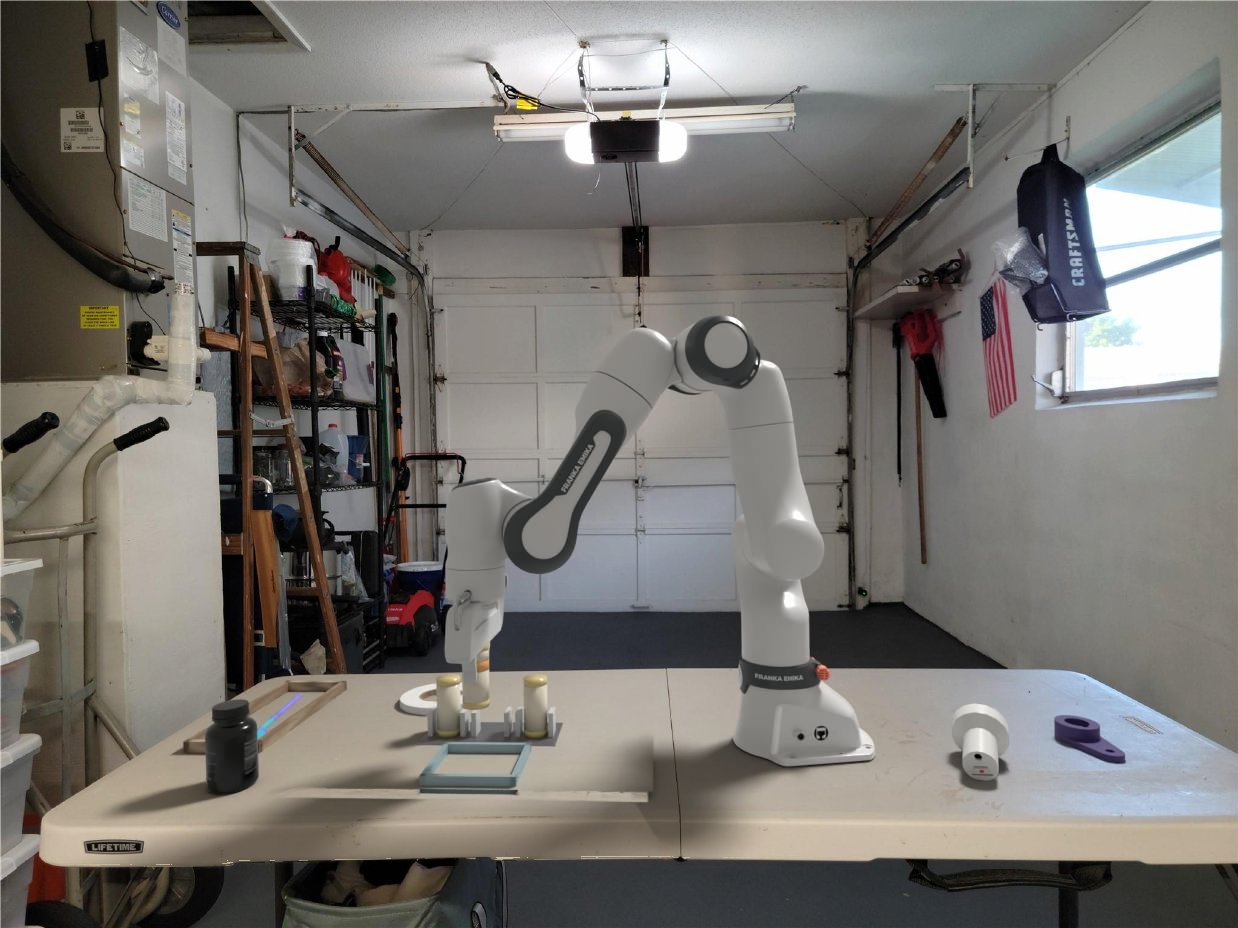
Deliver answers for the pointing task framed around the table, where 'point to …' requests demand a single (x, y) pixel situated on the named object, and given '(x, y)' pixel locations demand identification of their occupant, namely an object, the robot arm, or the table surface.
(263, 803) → the table surface
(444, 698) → the fuse
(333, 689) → the wooden frame
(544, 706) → the fuse
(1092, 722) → the lever
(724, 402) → the robot arm
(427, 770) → the tray
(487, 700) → the cylinder
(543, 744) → the clip block
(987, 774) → the spotlight
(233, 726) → the supplement bottle
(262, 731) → the spoon
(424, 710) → the roll of tape
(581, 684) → the table surface
